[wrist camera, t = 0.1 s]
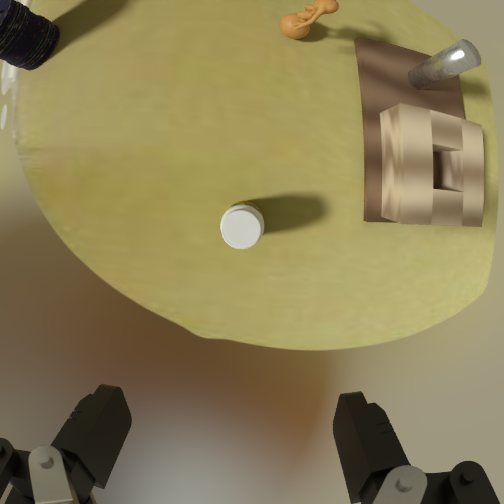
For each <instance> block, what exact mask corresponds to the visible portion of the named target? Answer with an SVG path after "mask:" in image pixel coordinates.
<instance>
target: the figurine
mask: <svg viewBox="0 0 504 504" xmlns="http://www.w3.org/2000/svg"><path fill="white" fill-rule="evenodd" d="M338 8H339V5H338V3H337V2H336V0H316V1H315V2H314V5H306V6H305V10H306V11H304V12H300V13H298V14H297V13H291V14H288V15H286V16H284V17H283V19H282V20H281V22H280V28H281V31H282V32H283V34H284V35H286V36H287V37H289V38H292V39H300V38H303V37H305V36H306V35H307V34H308V33H309V31H310V24H312V23H314V22H315V21H316V20H317V19H318V18H319V17H320V16H321V15H323V14H331V13H334V12H336V11H337V10H338ZM308 19H310V20H308Z"/></svg>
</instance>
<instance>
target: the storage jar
mask: <svg viewBox="0 0 504 504" xmlns="http://www.w3.org/2000/svg"><path fill="white" fill-rule="evenodd" d="M59 37H60V30H59V28H58V27H57V26H56V25H54V24H53V23H51V21H49V20H48V19H46V18H45V17H42V16H40V15H36V14H34V13H32V12H31V11H30V10H29V8H28V7H27V6H24V5H23V4H21V3H20V2H16V1H14V0H0V59H2V60H5V61H7V62H8V63H9V64H11V65H14V66H16V67H19V68H24V69H26V70H34V69H36V68H38V67H39V66H41V65H42V64H43V63H44V62H45V61H46V60H47V59H48V58H49V57H50V55H51V54H52V52H53V51H54V49H55V47H56V46H57V43H58V41H59Z"/></svg>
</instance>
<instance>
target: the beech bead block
mask: <svg viewBox="0 0 504 504" xmlns="http://www.w3.org/2000/svg"><path fill="white" fill-rule="evenodd" d="M380 121H381V139H382V213H381V217H383V218H386V219H389V220H392V221H395V222H398V223H401V224H419V225H450V226H473V227H482V218H483V203H484V150H483V135H482V125H480V124H477V123H474V122H471V121H468V120H465V119H461V118H458V117H455V116H451V115H448V114H444V113H441V112H437V111H433V110H429V109H425V108H421V107H416V106H412V105H407V104H402V103H400V104H398V105H396V106H393V107H391V108H389V109H387V110H385V111H383V112H381V113H380ZM433 152H438V162H439V187H438V189H433Z"/></svg>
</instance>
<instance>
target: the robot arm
mask: <svg viewBox="0 0 504 504" xmlns="http://www.w3.org/2000/svg"><path fill="white" fill-rule="evenodd" d="M131 422H132V418H131V413H130V411H129V408H128V405H127V403H126V400H125V397H124V394H123V391H122V389H121V388H120V387H116V386H111V385H105V384H101V385H99V387H98V388H97V390H96V391H95V393H94V394H93V395H92V394H89V395H87V396H86V397H85V398H83V399H82V400H80V402H79V403H78V405H77V406H76V408H75V409H74V412H72V414H71V415H70V417H69V419H67V421H66V422H65V424H64V425H63V427H62V428H61V430H60V432H59V433H58V435H57V436H56V438H55V439H54V441H53V442H52V444H51V445H50V446H49V445H43V446H39V447H37V448H35V449H34V450H33V451H32V452H29V451H22V450H16V449H14V447H13V446H12V445H11V444H10V442H9V441H8V440H6V439H4V438H0V499H1V497H2V495H3V493H4V491H5V489H6V487H7V485H8V483H10V484H11V485H12V486H13V487H12V489H11V491H10V493H9V496H8V497H7V500H6V502H5V504H97V503H96V501H95V498H94V495H93V493H92V492H91V490H92V488H93V486H96V487H99V488H102V489H104V488H105V486H106V483H107V481H108V479H109V476H110V474H111V471H112V469H113V467H114V464H115V462H116V460H117V457H118V455H119V453H120V450H121V448H122V446H123V443H124V441H125V439H126V437H127V434H128V432H129V430H130V427H131ZM333 434H334V438H335V442H336V446H337V450H338V454H339V458H340V462H341V465H342V469H343V473H344V477H345V481H346V485H347V489H348V493H349V497H350V502H351V504H354V503H358V502H361V504H500V502H499V500H498V498H497V496H496V494H495V492H494V489H493V487H492V486H491V483H490V481H489V479H488V477H487V475H486V473H485V471H484V469H483V468H482V467H481V465H479V464H478V463H476V462H473V461H464V462H461V463H459V464H457V465H456V466H455V467H454V468H453V470H452V471H450V472H441V473H424V472H423V471H422V470H421V469H419V468H417V467H414V466H411V464H410V463H409V461H408V459H407V457H406V455H405V453H404V451H403V449H402V446H401V444H400V442H399V440H398V438H397V436H396V433H395V432H394V429H393V428H392V425H391V423H390V421H389V419H388V417H387V415H386V413H385V411H384V410H383V409H382V408H381V407H380V406H378V405H377V404H376V403H370V404H367V401H366V399H365V397H364V395H363V393H362V392H361V391H359V392H352V393H344V394H340V396H339V400H338V404H337V408H336V412H335V416H334V420H333Z"/></svg>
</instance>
